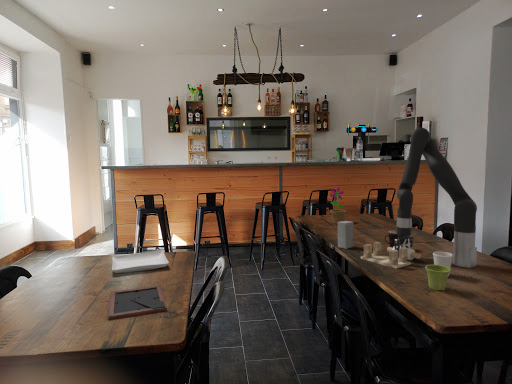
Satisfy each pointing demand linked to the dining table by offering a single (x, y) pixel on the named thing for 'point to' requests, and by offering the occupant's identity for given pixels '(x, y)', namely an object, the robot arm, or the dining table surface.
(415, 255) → the roll
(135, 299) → the picture frame
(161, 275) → the dining table surface
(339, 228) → the skincare box
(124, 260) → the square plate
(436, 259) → the dixie cup
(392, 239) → the coffee mug
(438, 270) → the plant pot
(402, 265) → the holder
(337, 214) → the flowerpot
